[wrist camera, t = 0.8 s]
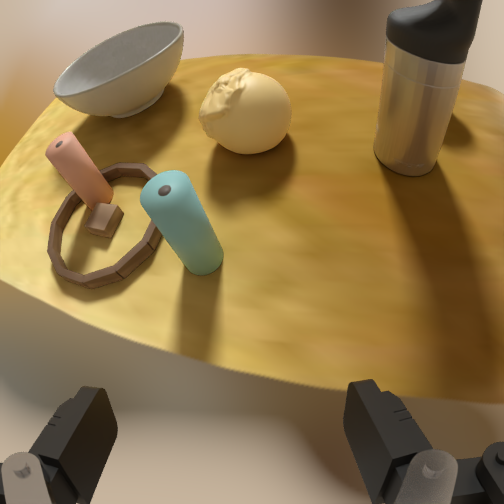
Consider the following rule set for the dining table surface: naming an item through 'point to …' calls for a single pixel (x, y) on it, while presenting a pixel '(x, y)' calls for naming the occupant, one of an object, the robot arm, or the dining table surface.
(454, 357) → the dining table surface
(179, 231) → the teal cylinder
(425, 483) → the robot arm
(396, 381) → the dining table surface
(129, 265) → the brown ring
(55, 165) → the pink cylinder
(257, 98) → the sculpture
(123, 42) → the decorative bowl
